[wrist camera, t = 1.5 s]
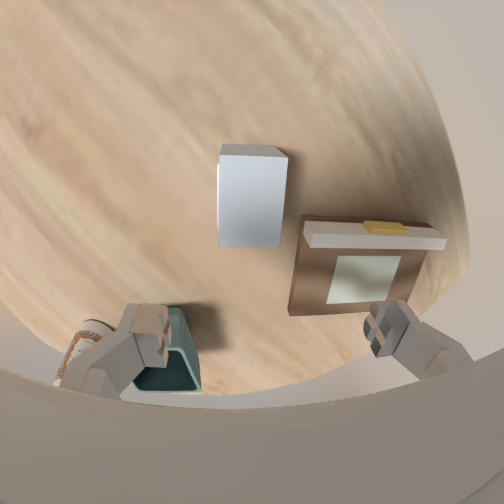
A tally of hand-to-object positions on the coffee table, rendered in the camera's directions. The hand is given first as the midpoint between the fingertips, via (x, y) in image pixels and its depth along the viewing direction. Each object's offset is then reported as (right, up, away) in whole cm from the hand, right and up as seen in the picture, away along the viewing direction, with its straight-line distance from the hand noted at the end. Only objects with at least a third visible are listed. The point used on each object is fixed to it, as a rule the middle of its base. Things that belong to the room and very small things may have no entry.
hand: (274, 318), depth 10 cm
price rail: (+13, +5, +19) cm, 24 cm away
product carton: (-1, +10, +17) cm, 19 cm away
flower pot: (-12, -7, +25) cm, 29 cm away
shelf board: (+13, +1, +23) cm, 26 cm away
